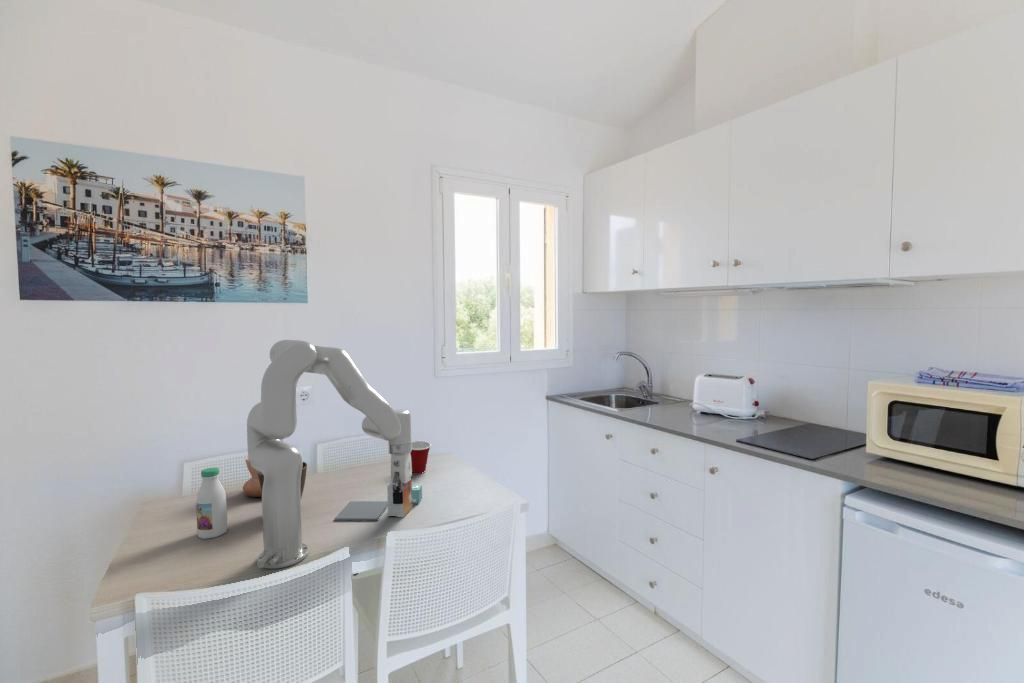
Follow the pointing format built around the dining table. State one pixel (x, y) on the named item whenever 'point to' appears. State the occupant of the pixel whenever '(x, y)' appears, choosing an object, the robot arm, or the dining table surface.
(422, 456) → the plastic cup
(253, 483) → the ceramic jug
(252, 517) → the dining table surface
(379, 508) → the slate mat
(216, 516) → the milk bottle
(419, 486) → the lettered cube
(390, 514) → the small box
